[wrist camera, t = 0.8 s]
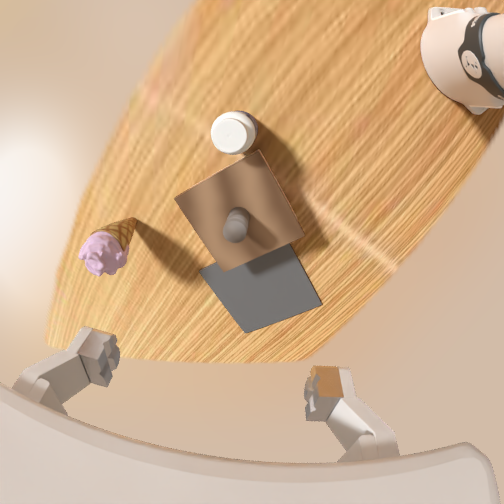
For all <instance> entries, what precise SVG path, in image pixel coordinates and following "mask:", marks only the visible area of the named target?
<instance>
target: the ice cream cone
mask: <svg viewBox="0 0 504 504" xmlns="http://www.w3.org/2000/svg"><path fill="white" fill-rule="evenodd" d="M136 223H137V220H136V219H135V218H133V217H132V218H128V219H125V220H121V221H118V222H114V223H112V224H109V225H106V226H104V227H102V228H100V229H98V230H96V231H94V232H93V233H92V234H91V235H90V237H89V238H88V239H87V241H86V242H85V243H84V245H83V246H82V247H81V250H80V253H79V259H81V260H83V259H84V260H85V265H86V267H87V269H88V270H89V271H90V272H91V273H93V274H94V275H97V276H101V275H102V274H103V273H104V272H106V273H107V274H109V275H114V274H115V273H116V271H117V269H118V268H122V267H123V266H124V265H125V264H126V262H127V255H128V252H129V244H130V241H131V238H132V236H133V232H134V229H135V226H136Z"/></svg>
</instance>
